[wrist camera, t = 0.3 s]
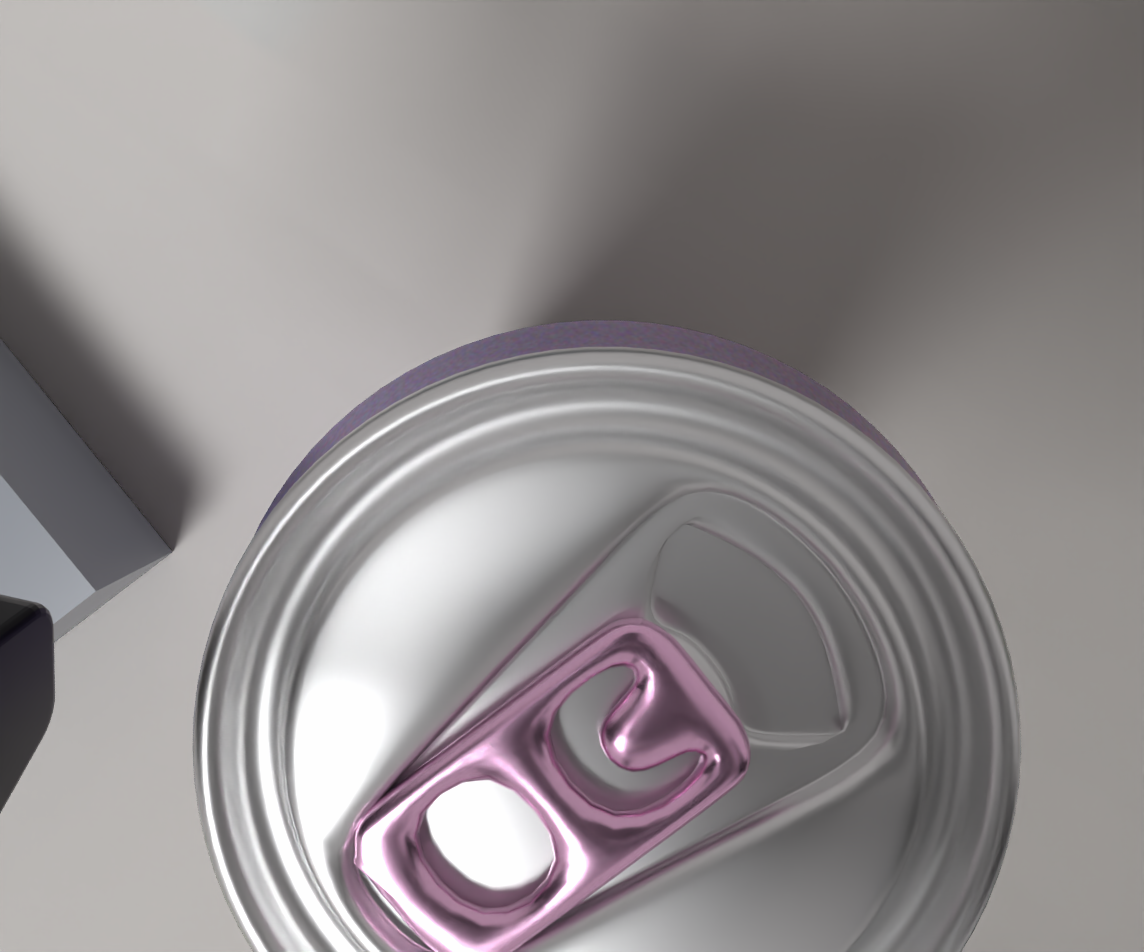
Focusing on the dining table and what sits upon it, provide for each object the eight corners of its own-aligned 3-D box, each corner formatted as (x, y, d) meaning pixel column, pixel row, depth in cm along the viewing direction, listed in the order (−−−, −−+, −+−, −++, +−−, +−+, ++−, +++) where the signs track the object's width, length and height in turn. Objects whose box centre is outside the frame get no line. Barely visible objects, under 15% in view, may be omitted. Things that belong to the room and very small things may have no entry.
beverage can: (389, 453, 22) (-26, 695, 7) (617, 271, 21) (686, 117, 6) (568, 673, 22) (534, 1327, 8) (794, 501, 22) (1232, 843, 7)
